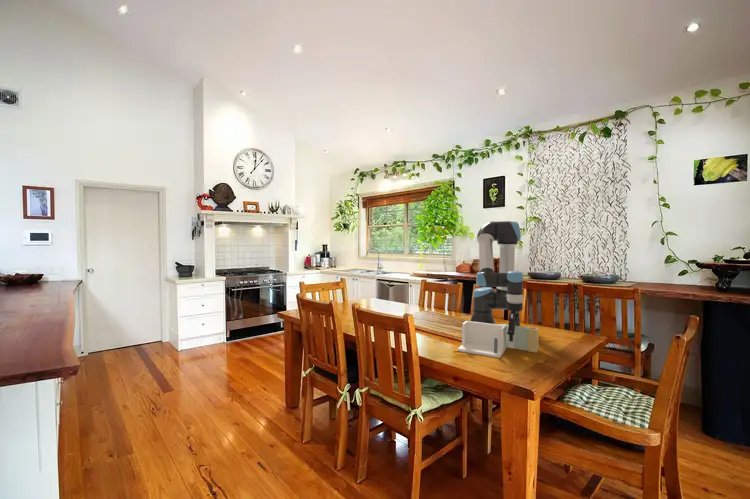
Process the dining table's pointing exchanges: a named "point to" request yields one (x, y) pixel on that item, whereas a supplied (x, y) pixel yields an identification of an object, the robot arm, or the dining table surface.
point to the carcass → (483, 339)
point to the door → (524, 338)
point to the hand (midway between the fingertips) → (513, 343)
